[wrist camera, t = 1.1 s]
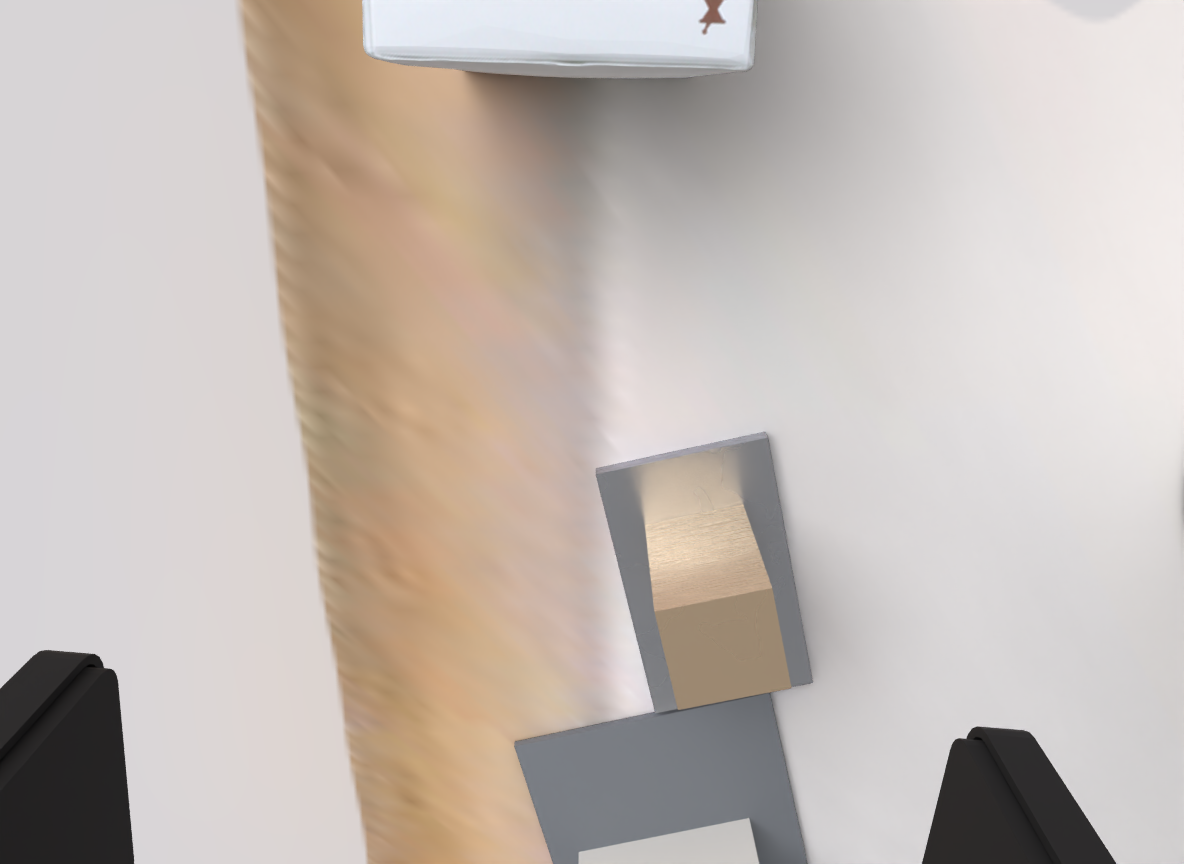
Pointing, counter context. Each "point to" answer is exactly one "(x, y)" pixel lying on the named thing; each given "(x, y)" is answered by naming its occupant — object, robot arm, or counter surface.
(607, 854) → the tile
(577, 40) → the supplement box
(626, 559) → the trowel
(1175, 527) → the counter surface
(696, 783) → the mat
